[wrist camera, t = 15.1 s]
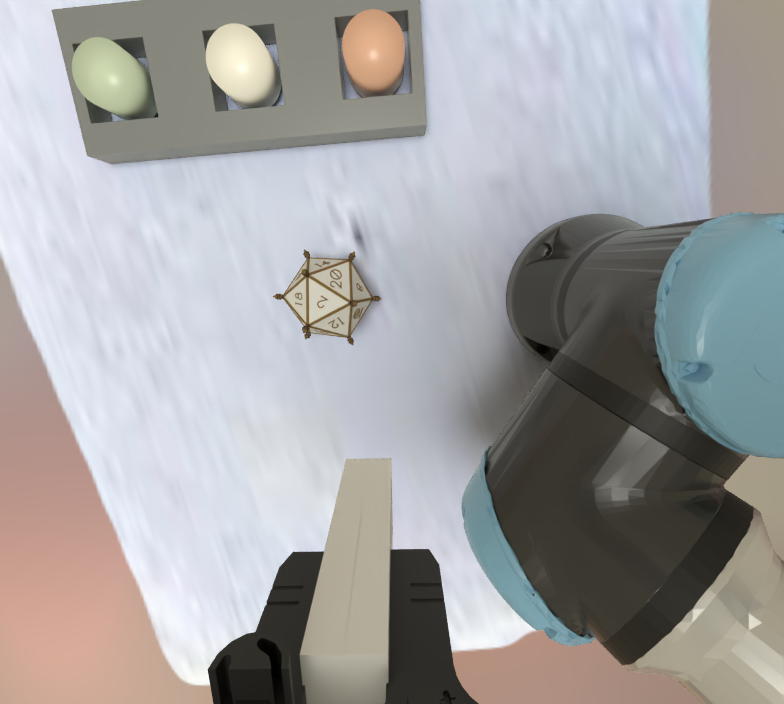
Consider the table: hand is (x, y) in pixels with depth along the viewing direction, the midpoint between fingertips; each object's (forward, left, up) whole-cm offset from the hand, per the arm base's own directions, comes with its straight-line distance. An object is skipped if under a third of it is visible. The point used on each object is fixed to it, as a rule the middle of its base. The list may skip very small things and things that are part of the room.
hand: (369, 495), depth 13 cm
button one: (+10, -24, -28) cm, 38 cm away
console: (+10, -24, -29) cm, 39 cm away
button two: (+21, -24, -28) cm, 42 cm away
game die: (+5, -5, -29) cm, 30 cm away
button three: (-1, -24, -28) cm, 37 cm away
